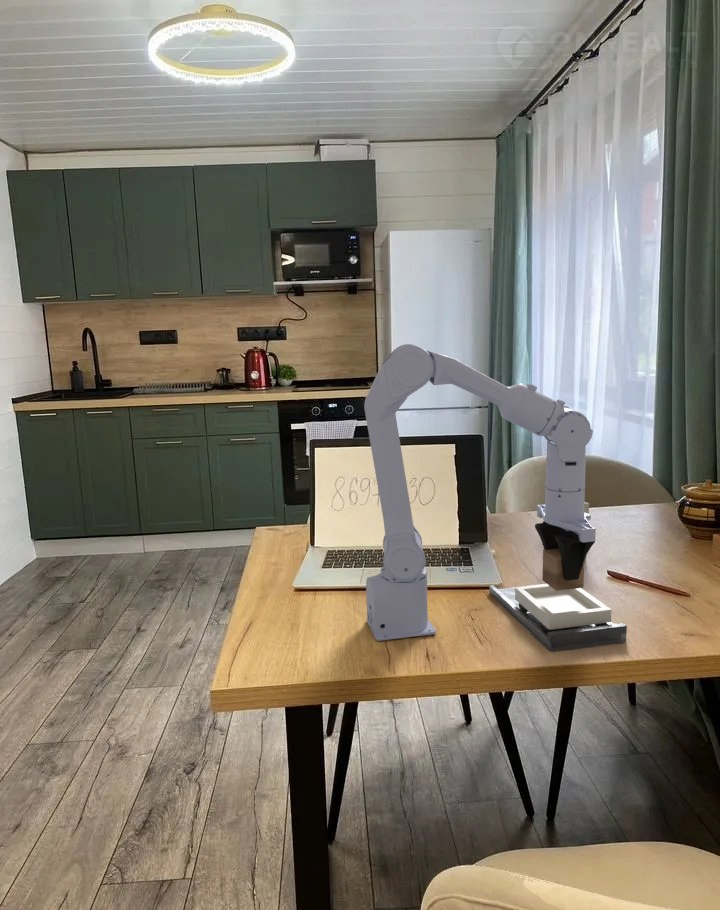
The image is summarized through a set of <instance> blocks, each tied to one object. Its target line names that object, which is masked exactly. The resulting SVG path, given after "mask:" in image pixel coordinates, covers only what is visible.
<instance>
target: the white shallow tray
mask: <svg viewBox="0 0 720 910" xmlns="http://www.w3.org/2000/svg"><path fill="white" fill-rule="evenodd" d="M532 585H533V586H530V585H523V586H524V587H521V586H514V587H515V599H516V600H517V601H518V602H519V609H520V610H521V611H522V612H523V613H524V612H530V613H531V614H532V615H533V616H534V617H536V618H537V619H538V620H539V621H540V622H541V623H542V624H541V627H542V630H543V631H544V632H545V633H546V634H548V632H553V629H560V628H568V627H576V626H584V625H592V624H595V626H602V625H605V624H606V623H608V622H612V608H610V607H608V606H607V605H606V604H604V603H603V602H601V601H600V600H599V599H597V598H596V597H594V596H593V595H592V594H591V593H589V592H588V591H586V590H584V589H583V588H576V589H567V590H559V591H556V590H554V589H553V588H552V587H551V586H549V585H548V584H547V583H542V585H539V584H532Z"/></svg>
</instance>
